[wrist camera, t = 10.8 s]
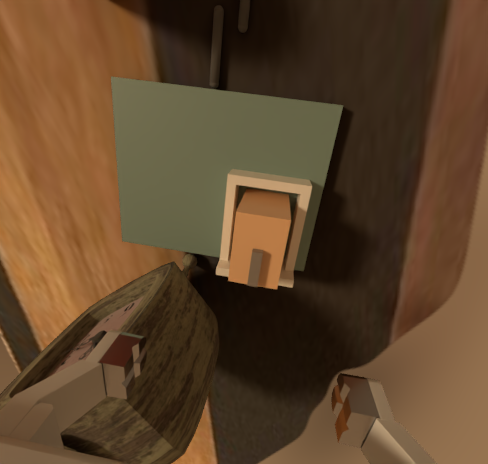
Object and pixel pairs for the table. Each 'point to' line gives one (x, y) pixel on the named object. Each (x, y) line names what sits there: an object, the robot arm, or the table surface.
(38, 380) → the tabletop clock
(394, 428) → the robot arm
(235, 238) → the plug
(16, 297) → the table surface
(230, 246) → the frame
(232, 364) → the table surface
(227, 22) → the table surface
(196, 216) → the board
